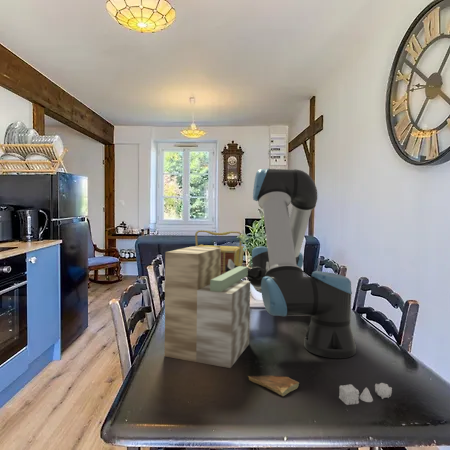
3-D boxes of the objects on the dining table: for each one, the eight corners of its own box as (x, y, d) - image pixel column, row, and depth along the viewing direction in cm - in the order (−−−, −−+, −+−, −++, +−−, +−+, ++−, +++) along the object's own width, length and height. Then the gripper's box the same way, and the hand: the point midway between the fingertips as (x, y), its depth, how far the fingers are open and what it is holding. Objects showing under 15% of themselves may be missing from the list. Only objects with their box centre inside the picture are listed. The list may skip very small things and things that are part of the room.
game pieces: (346, 407, 75) (347, 392, 75) (338, 398, 78) (338, 385, 78) (394, 400, 78) (394, 386, 78) (384, 392, 81) (384, 379, 81)
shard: (247, 381, 86) (247, 374, 86) (267, 372, 91) (267, 365, 91) (281, 399, 78) (282, 391, 78) (301, 388, 83) (301, 380, 83)
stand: (191, 335, 116) (192, 246, 115) (249, 344, 109) (250, 249, 108) (164, 356, 99) (165, 252, 98) (230, 368, 92) (232, 256, 91)
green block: (238, 274, 119) (239, 266, 119) (247, 275, 118) (247, 266, 118) (210, 290, 94) (210, 279, 94) (221, 291, 93) (221, 280, 93)
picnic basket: (245, 278, 217) (246, 230, 215) (237, 286, 192) (238, 232, 190) (200, 275, 223) (201, 229, 222) (187, 283, 198) (188, 231, 197)
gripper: (288, 289, 134) (283, 277, 115) (227, 284, 141) (212, 272, 122) (289, 271, 137) (284, 255, 118) (229, 266, 144) (215, 251, 125)
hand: (247, 264), depth 120 cm, fingers open, 13 cm apart
